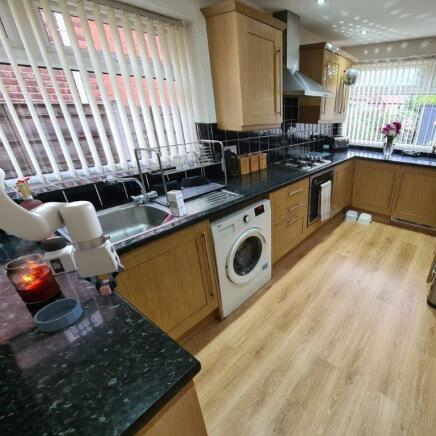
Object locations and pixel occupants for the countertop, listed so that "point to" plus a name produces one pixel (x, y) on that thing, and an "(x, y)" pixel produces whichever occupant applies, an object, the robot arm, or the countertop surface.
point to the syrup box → (176, 203)
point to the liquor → (30, 202)
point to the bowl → (58, 315)
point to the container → (59, 255)
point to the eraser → (105, 288)
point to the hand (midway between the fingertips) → (108, 289)
